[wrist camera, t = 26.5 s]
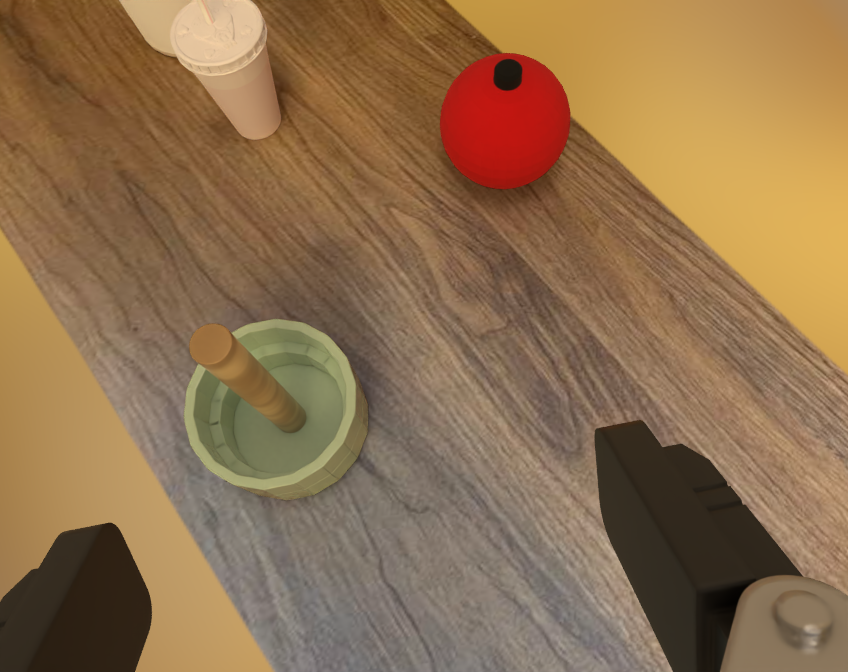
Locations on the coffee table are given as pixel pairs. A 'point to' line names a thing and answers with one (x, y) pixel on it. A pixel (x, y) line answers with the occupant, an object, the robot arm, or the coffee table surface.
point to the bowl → (261, 439)
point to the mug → (155, 20)
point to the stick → (245, 376)
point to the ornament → (505, 121)
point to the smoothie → (230, 61)
